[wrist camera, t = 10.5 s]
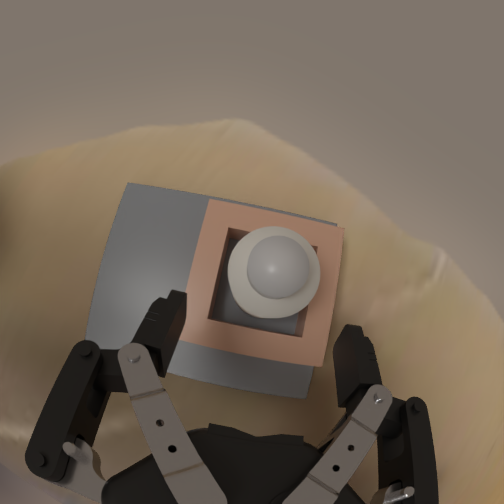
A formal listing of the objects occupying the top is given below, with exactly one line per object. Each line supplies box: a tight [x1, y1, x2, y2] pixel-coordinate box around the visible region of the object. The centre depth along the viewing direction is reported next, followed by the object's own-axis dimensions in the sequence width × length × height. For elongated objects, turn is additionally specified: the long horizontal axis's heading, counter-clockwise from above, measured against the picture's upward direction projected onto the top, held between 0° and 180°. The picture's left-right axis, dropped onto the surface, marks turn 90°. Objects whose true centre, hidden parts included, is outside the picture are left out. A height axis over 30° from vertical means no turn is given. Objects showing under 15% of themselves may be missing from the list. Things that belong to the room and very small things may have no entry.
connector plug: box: [228, 226, 320, 318], centre depth 18 cm, size 5×5×10 cm
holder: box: [85, 183, 344, 399], centre depth 22 cm, size 21×16×4 cm
